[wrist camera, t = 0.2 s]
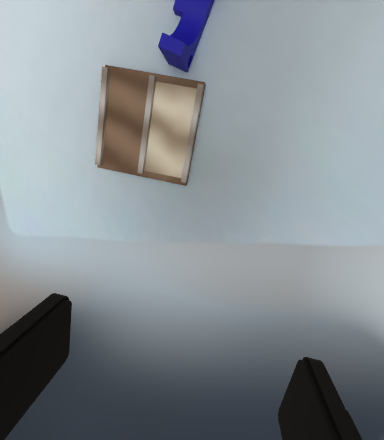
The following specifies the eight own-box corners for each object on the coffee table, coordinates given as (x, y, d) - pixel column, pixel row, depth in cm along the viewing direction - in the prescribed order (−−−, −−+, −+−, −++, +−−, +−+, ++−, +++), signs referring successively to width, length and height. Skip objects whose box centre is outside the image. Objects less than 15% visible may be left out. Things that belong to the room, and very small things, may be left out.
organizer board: (108, 67, 36) (102, 62, 34) (205, 84, 34) (204, 80, 33) (100, 166, 40) (95, 167, 38) (186, 184, 39) (185, 186, 37)
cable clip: (192, -36, 31) (185, -80, 26) (223, -22, 31) (222, -63, 25) (159, 60, 35) (147, 41, 29) (187, 72, 35) (180, 55, 29)
